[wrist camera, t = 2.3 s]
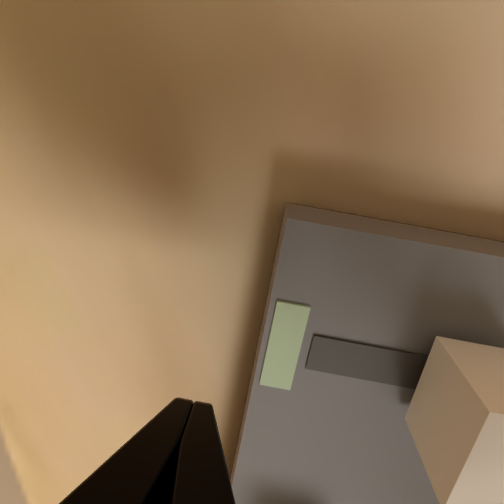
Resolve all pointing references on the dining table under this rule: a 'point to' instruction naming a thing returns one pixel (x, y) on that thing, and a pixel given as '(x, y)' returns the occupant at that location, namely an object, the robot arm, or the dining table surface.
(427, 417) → the switch
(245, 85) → the dining table surface
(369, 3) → the dining table surface
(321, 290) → the breaker panel
